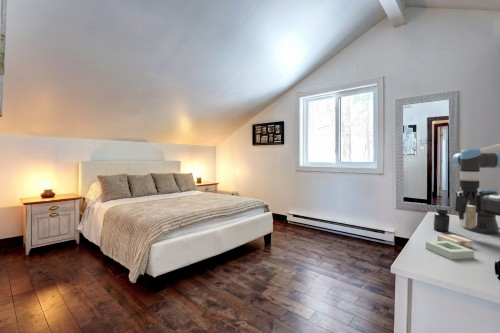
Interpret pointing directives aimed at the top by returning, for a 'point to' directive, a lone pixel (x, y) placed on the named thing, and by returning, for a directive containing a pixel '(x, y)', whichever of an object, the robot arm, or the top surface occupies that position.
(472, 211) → the box
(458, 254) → the socket
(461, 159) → the robot arm
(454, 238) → the stand
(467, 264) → the top surface
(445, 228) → the supplement bottle
